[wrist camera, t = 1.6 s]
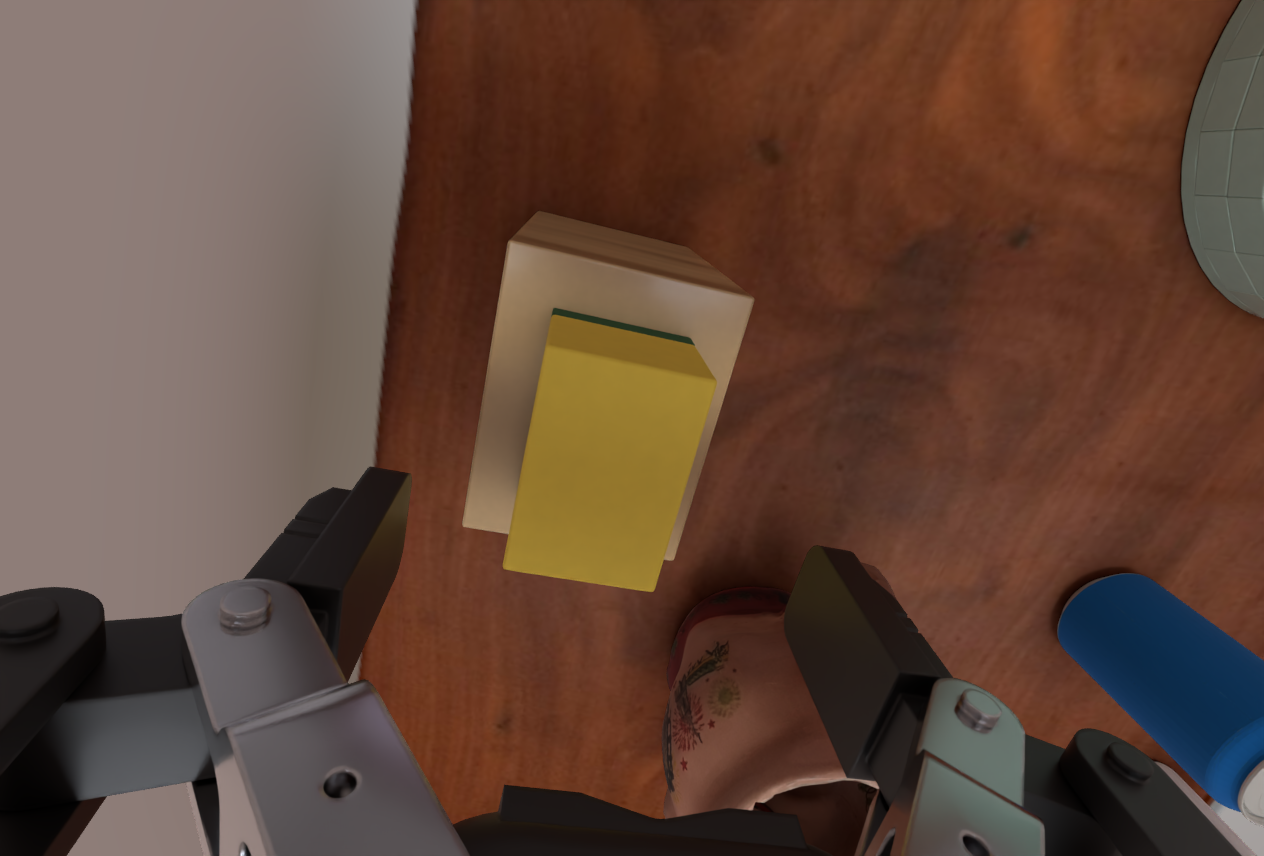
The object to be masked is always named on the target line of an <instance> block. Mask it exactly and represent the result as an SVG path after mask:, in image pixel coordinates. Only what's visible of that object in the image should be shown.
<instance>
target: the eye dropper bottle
mask: <svg viewBox="0 0 1264 856" xmlns="http://www.w3.org/2000/svg"><path fill="white" fill-rule="evenodd" d="M1155 763H1156V764H1157V765H1158V766H1160V767H1161V768H1162V769H1163V770H1164V771H1165V772H1166V774H1167V775H1168V776H1169V777H1170V778H1171V779H1172V780H1173V781H1174V782H1175V783H1176V784H1177V786H1178V787H1179V788H1180V789H1181V790H1182V791H1183V792H1184V793H1185V794H1186V795H1187V796H1188V798H1189V799H1190V800H1191V801H1192V802H1193V803H1194V804H1195V805H1196V806H1197V807H1198V809H1199V810H1200V811H1201V812H1202V813H1203V814H1204V815H1205V816H1206V817H1207V818H1208V819H1209V821H1210V822H1211V823H1212V824H1213V825H1214V826H1215V827H1216V828H1217V829H1218V830H1219V831H1220V833H1221V834H1222V835H1223V836H1224V837H1225V838H1226V839H1227V840H1228V841H1229V842H1230V843H1231V845H1232V846H1233V847H1234V848H1235V849H1236V850H1237V851H1238V852H1239V853H1240V854H1241V856H1256V854H1255V853H1254V852H1253V851H1252V850H1251V849H1250V848H1249V847H1248V846H1247V845H1246V844H1245V843H1244V842H1243V841H1242V840H1241V839H1240V838H1239V837H1238V836H1237V835H1236V834H1235V833H1234V832H1233V831H1232V830H1231V829H1230V828H1229V826H1228V825H1227V824H1226V823H1224V821H1223V820H1222V819H1221V818H1220V817H1219V816H1218V815H1217V814H1216V813H1215V812H1214V811H1213V810H1212V809H1211V808H1210V807H1209V806H1208V805H1207V804H1206V803H1205V802H1204V801H1203V800H1202V799H1201V798H1200V797H1199V796H1198V795H1197V794H1196V793H1195V792H1194V791H1193V790H1192V789H1191V788H1190V787H1189V786H1188V785H1187V784H1186V782H1185V781H1184V780H1183V779H1182V778H1181V777H1180V776H1179V775H1178V774H1177V773H1176V772H1174V771H1173V770H1172V769H1171V768H1169V767H1168V766H1166V765H1164V764H1162V763H1159V762H1155Z"/></svg>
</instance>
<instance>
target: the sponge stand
mask: <svg viewBox="0 0 1264 856" xmlns="http://www.w3.org/2000/svg"><path fill="white" fill-rule="evenodd" d="M753 303H754V298H753V297H752V296H751V295H750V294H748V293H747V292H746V291H744V290H743V289H742V288H740V287H739V286H738V285H737V284H735V283H734V282H733V281H731V280H730V279H729V278H727V277H726V276H725V275H723V274H722V273H721V272H720V271H718V270H717V269H716V268H714V267H713V266H712V265H710V264H709V263H708V262H706V261H705V260H704V259H703V258H701V257H700V256H699V255H697V254H696V253H695V252H693V251H692V250H691V249H690V248H688V247H685V246H681V245H677V244H673V243H669V242H665V241H660V240H656V239H652V238H648V237H644V236H640V235H636V234H632V233H628V232H624V231H620V230H616V229H611V228H607V227H603V226H599V225H595V224H591V223H587V222H583V221H579V220H575V219H571V218H566V217H562V216H558V215H554V214H550V213H546V212H542V211H537V212H536V213H535V214H534V216H533V217H532V218H531V219H530V220H529V221H528V222H527V223H526V224H525V225H524V226H523V227H522V228H521V229H520V230H519V231H518V232H517V233H516V234H515V235H514V236H513V237H512V238H511V239H510V240H509V241H508V244H507V250H506V257H505V263H504V269H503V275H502V281H501V287H500V294H499V300H498V306H497V312H496V318H495V324H494V331H493V337H492V343H491V349H490V355H489V361H488V368H487V374H486V380H485V386H484V392H483V398H482V404H481V411H480V417H479V423H478V429H477V435H476V441H475V448H474V454H473V460H472V466H471V472H470V478H469V485H468V491H467V497H466V503H465V509H464V515H463V522H462V525H463V526H464V527H468V528H474V529H480V530H486V531H492V532H498V533H504V534H509V530H510V525H511V520H512V515H513V510H514V504H515V499H516V494H517V489H518V484H519V479H520V474H521V468H522V463H523V458H524V453H525V448H526V443H527V438H528V432H529V427H530V422H531V417H532V412H533V407H534V402H535V396H536V391H537V386H538V381H539V376H540V371H541V366H542V361H543V355H544V350H545V345H546V340H547V335H548V330H549V326H550V321H551V316H552V311H553V308H558V309H563V310H567V311H572V312H577V313H581V314H586V315H590V316H595V317H599V318H604V319H608V320H613V321H617V322H622V323H626V324H631V325H635V326H640V327H644V328H649V329H653V330H658V331H662V332H667V333H671V334H676V335H680V336H685V337H689V338H691V340H692V341H693V343H694V344H695V347H696V349H697V350H698V352H699V353H700V355H701V357H702V358H703V360H704V361H705V363H706V365H707V366H708V368H709V369H710V371H711V372H712V374H713V376H714V377H715V379H716V380H717V386H716V389H715V392H714V396H713V399H712V402H711V405H710V409H709V412H708V415H707V419H706V422H705V425H704V429H703V432H702V435H701V438H700V442H699V445H698V448H697V452H696V455H695V458H694V462H693V465H692V468H691V471H690V475H689V478H688V481H687V485H686V488H685V491H684V494H683V498H682V501H681V504H680V508H679V511H678V514H677V518H676V521H675V524H674V527H673V531H672V534H671V537H670V541H669V544H668V547H667V551H666V554H665V557H664V560H670V561H673V560H674V558H675V555H676V551H677V548H678V545H679V542H680V539H681V535H682V532H683V529H684V526H685V522H686V519H687V516H688V513H689V510H690V506H691V503H692V500H693V497H694V493H695V490H696V487H697V484H698V481H699V477H700V474H701V471H702V468H703V464H704V461H705V458H706V455H707V452H708V448H709V445H710V442H711V439H712V435H713V432H714V429H715V426H716V423H717V419H718V416H719V413H720V410H721V406H722V403H723V400H724V397H725V394H726V390H727V387H728V384H729V381H730V377H731V374H732V371H733V368H734V365H735V361H736V358H737V355H738V352H739V348H740V345H741V342H742V339H743V336H744V332H745V329H746V326H747V323H748V319H749V316H750V313H751V310H752V307H753Z"/></svg>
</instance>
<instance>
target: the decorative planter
mask: <svg viewBox="0 0 1264 856" xmlns="http://www.w3.org/2000/svg"><path fill="white" fill-rule="evenodd" d="M860 563H861V562H860ZM861 564H862V566H863V567H864V568H865V570H866V571H867V573H868V574H869V575H870V577H871V578H872V579H874V580H875V581H876V582H877V583H878V584H880V585H881V586H882V587H883V588H884V589H886V590H887V591H888V592H889V593H890V594H892V595H893V596H894V597H895V595H894V593H893V591H892V589H891V587H890V585H889V583H888V581H887V580H886V578H885V577H884V576H883V575H882V574H881V572H880V571H879V570H878V569H877V568H876V567H874V566H871V565H868V564H864V563H861ZM790 596H791V593H789V592H787V591H784V590H781V589H776V588H765V587H739V588H732V589H728V590H724V591H720V592H718V593H715V594H713V595H711V596H709V597H707V598H705V599H704V600H702V601H701V602H700V603H699V604H697V605H696V606H695V607H694V608H693V609H692V611H691V612H690V613H689V614H688V616H687V617H686V619H685V620H684V622H683V624H682V626H681V627H680V629H679V631H678V633H677V635H676V638H675V640H674V643H673V645H672V649H671V655H670V661H669V665H668V668H667V680H668V685H669V689H670V691H671V693H670V697H669V700H668V704H667V708H666V713H665V717H664V721H663V727H662V752H663V763H664V769H665V775H666V780H667V784H668V789H667V793H666V797H665V801H664V815H665V818H666V819H667V818H673V817H679V816H685V815H691V814H696V813H702V812H708V811H714V810H719V809H725V808H735V809H745V810H754V811H764V812H774V813H784V814H793V815H797V817H798V820H799V823H800V826H801V829H802V832H803V835H804V838H805V841H806V843H807V844H810V845H813V846H815V847H817V848H819V849H821V850H823V851H825V852H827V853H829V854H831V855H833V856H854V855H855V852H856V849H857V846H858V843H859V840H860V836H861V833H862V830H863V827H864V824H865V821H866V817H867V814H868V811H869V808H870V805H871V803H872V800H873V799H874V797H875V795H876V793H877V791H878V789H879V787H878V785H877V782H876V781H868V780H859V779H850V778H847V777H846V775H845V773H844V771H843V768H842V766H841V764H840V761H839V759H838V757H837V754H836V752H835V750H834V748H833V745H832V743H831V741H830V738H829V736H828V734H827V731H826V729H825V727H824V725H823V722H822V720H821V718H820V715H819V713H818V711H817V708H816V706H815V704H814V701H813V699H812V697H811V695H810V692H809V690H808V688H807V685H806V683H805V681H804V678H803V676H802V674H801V672H800V669H799V667H798V665H797V662H796V660H795V658H794V655H793V653H792V651H791V648H790V646H789V644H788V642H787V639H786V636H785V632H784V614H785V609H786V606H787V603H788V601H789V598H790ZM895 599H896V597H895Z"/></svg>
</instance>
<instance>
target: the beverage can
mask: <svg viewBox="0 0 1264 856" xmlns="http://www.w3.org/2000/svg"><path fill="white" fill-rule="evenodd" d="M1057 633H1058V639H1059V642H1060V644H1061V646H1062V647H1063V648H1064V650H1065V651H1066V652H1067V653H1068V654H1069V655H1070V656H1071V657H1072V658H1073V659H1074V660H1075V661H1076V662H1077V663H1078V664H1079V665H1080V666H1081V667H1082V668H1083V669H1084V670H1085V671H1086V672H1087V673H1088V674H1089V675H1090V676H1091V677H1092V678H1093V679H1094V680H1095V681H1096V682H1097V683H1098V684H1099V685H1100V686H1101V687H1102V688H1103V689H1104V690H1105V691H1106V692H1107V693H1108V694H1109V695H1110V696H1111V697H1112V698H1113V699H1114V700H1115V701H1116V702H1117V703H1118V704H1119V705H1120V706H1121V707H1122V708H1123V709H1124V710H1125V711H1126V712H1127V713H1128V714H1129V715H1130V716H1131V717H1132V718H1133V719H1134V720H1135V721H1136V722H1137V723H1138V724H1139V725H1140V726H1141V727H1142V728H1143V729H1144V730H1145V731H1146V732H1147V733H1148V734H1149V735H1150V736H1151V737H1152V738H1153V739H1154V740H1155V741H1156V742H1157V743H1158V744H1159V745H1160V746H1161V747H1162V748H1163V749H1164V750H1165V751H1166V752H1167V753H1168V754H1169V755H1170V756H1171V757H1172V758H1173V759H1174V760H1175V761H1176V762H1177V763H1178V764H1179V765H1180V766H1181V767H1182V768H1183V769H1184V770H1185V771H1186V772H1187V773H1188V774H1189V775H1190V776H1191V777H1192V778H1193V779H1194V780H1195V781H1196V782H1197V783H1198V784H1199V785H1200V786H1201V787H1202V788H1203V789H1204V790H1205V791H1206V792H1207V793H1208V794H1209V795H1210V796H1211V797H1212V798H1213V799H1214V800H1216V801H1217V802H1218V803H1220V804H1222V805H1224V806H1226V807H1228V808H1230V809H1233V810H1236V811H1239V812H1241V813H1242V814H1243V815H1244V816H1245V817H1246V818H1247V819H1248V820H1249V821H1250V822H1252V823H1254V824H1256V825H1259V826H1262V827H1264V661H1263V660H1262V659H1261V658H1259V657H1258V656H1256V655H1255V654H1254V653H1252V652H1251V651H1250V650H1248V649H1247V648H1245V647H1244V646H1243V645H1241V644H1240V643H1239V642H1237V641H1236V640H1234V639H1233V638H1232V637H1230V636H1229V635H1227V634H1226V633H1225V632H1223V631H1222V630H1221V629H1219V628H1218V627H1216V626H1215V625H1214V624H1212V623H1211V622H1210V621H1208V620H1207V619H1205V618H1204V617H1203V616H1201V615H1200V614H1199V613H1197V612H1196V611H1194V610H1193V609H1192V608H1190V607H1189V606H1188V605H1186V604H1185V603H1183V602H1182V601H1181V600H1179V599H1178V598H1177V597H1175V596H1174V595H1172V594H1171V593H1170V592H1168V591H1167V590H1166V589H1164V588H1163V587H1161V586H1160V585H1159V584H1157V583H1156V582H1154V581H1153V580H1152V579H1150V578H1148V577H1146V576H1143V575H1139V574H1133V573H1123V574H1116V575H1111V576H1108V577H1103V578H1099V579H1096V580H1094V581H1091V582H1089V583H1087V584H1086V585H1084V586H1083V587H1081V588H1080V589H1078V590H1077V591H1076V592H1075V593H1074V594H1073V595H1072V596H1071V597H1070V598H1069V600H1068V601H1067V603H1066V604H1065V606H1064V608H1063V611H1062V614H1061V617H1060V619H1059V623H1058V630H1057Z"/></svg>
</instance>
